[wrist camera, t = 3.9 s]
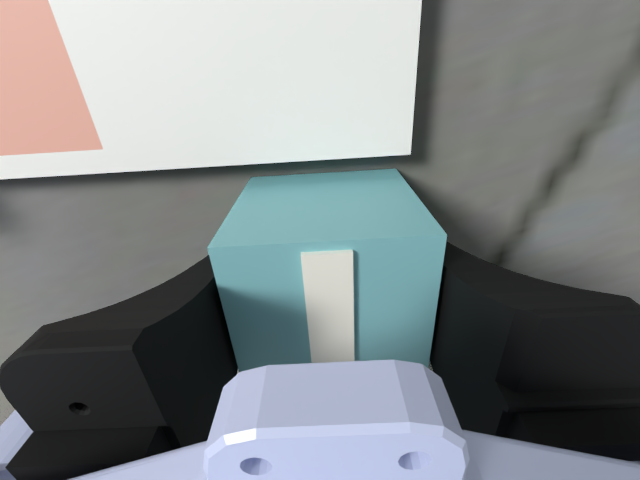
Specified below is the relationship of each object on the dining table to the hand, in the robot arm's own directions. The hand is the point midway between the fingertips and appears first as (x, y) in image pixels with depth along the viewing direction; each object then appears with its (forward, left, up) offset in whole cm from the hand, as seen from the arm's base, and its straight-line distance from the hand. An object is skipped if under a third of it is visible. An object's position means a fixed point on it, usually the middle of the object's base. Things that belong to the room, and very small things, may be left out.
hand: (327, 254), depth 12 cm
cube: (0, 0, -1) cm, 1 cm away
